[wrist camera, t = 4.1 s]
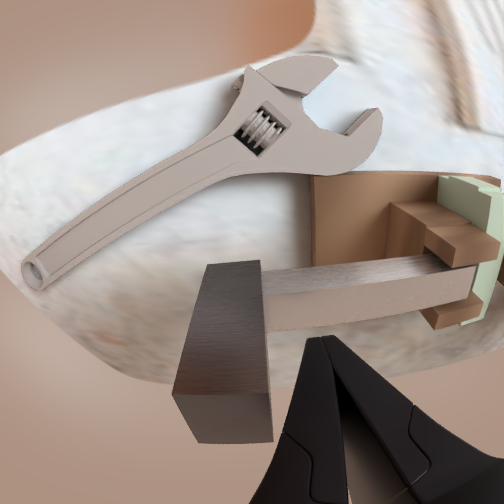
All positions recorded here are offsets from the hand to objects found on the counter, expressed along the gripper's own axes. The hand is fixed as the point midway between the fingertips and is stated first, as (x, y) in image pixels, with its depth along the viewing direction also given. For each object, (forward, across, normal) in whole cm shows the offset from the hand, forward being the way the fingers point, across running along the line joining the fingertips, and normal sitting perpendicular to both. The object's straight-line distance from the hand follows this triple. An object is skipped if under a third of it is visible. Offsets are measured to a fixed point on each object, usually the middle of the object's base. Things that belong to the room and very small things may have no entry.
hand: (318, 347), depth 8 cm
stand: (+9, -8, 0) cm, 12 cm away
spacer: (+7, -10, 0) cm, 12 cm away
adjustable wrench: (+9, +7, -4) cm, 12 cm away
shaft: (+4, -2, 0) cm, 4 cm away
